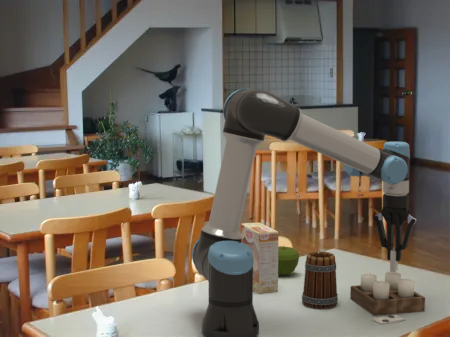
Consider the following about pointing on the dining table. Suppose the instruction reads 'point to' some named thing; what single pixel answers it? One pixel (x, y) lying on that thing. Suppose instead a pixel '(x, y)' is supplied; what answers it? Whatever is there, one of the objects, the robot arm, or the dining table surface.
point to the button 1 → (367, 282)
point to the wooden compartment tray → (387, 302)
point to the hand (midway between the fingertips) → (393, 270)
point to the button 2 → (380, 290)
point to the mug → (320, 280)
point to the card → (388, 319)
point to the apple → (287, 260)
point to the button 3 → (392, 279)
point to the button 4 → (405, 288)
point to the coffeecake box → (262, 255)
